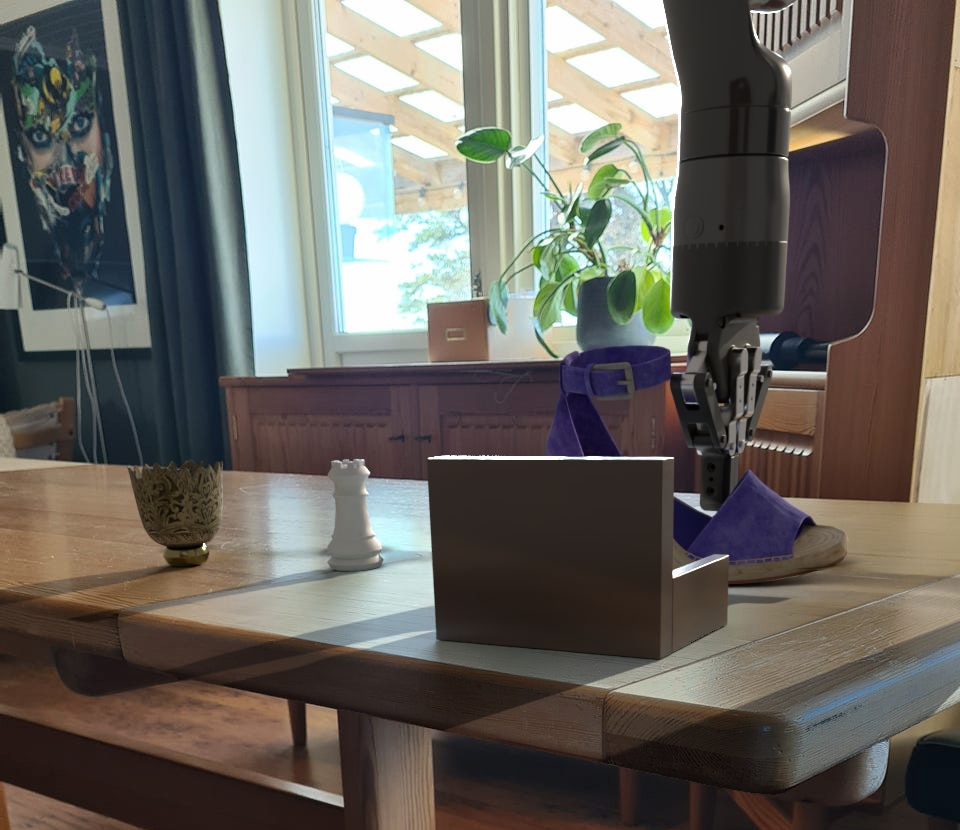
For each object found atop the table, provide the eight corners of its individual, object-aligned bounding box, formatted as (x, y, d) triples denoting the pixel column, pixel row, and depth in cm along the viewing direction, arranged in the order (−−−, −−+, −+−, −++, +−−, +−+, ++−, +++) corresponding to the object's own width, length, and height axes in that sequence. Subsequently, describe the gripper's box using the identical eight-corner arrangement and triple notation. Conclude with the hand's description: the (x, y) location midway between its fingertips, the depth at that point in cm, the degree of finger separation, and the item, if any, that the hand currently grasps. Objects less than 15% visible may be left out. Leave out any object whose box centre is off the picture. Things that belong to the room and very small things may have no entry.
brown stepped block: (518, 609, 81) (513, 444, 78) (727, 624, 74) (732, 444, 71) (436, 639, 74) (426, 458, 70) (660, 659, 67) (662, 459, 63)
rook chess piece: (353, 573, 97) (345, 464, 94) (315, 569, 100) (306, 462, 97) (396, 565, 100) (389, 458, 97) (357, 561, 103) (350, 457, 100)
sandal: (826, 589, 82) (814, 347, 74) (549, 584, 92) (513, 370, 84) (859, 540, 88) (851, 310, 80) (595, 540, 97) (565, 335, 89)
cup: (251, 561, 106) (240, 460, 103) (176, 574, 101) (163, 468, 98) (197, 555, 110) (185, 458, 107) (123, 567, 105) (109, 466, 102)
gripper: (746, 233, 77) (732, 526, 84) (818, 239, 87) (800, 500, 94) (633, 239, 81) (628, 520, 88) (714, 244, 91) (705, 495, 98)
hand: (718, 509), depth 91 cm, fingers closed
